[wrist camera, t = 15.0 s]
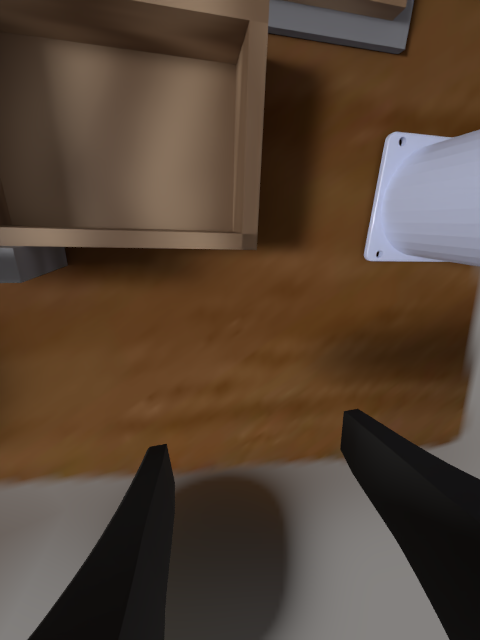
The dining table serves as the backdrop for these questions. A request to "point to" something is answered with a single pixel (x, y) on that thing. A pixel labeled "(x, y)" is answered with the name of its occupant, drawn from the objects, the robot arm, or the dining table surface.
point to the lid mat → (340, 26)
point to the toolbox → (128, 127)
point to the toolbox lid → (361, 7)
